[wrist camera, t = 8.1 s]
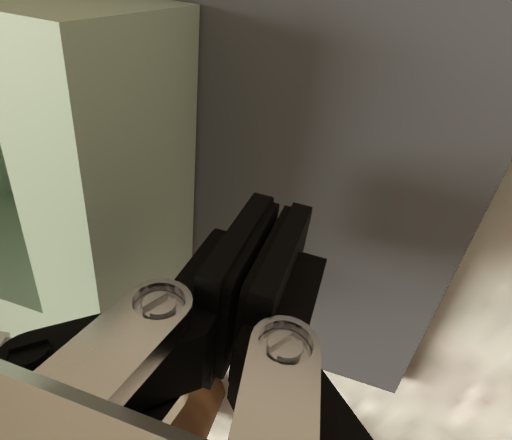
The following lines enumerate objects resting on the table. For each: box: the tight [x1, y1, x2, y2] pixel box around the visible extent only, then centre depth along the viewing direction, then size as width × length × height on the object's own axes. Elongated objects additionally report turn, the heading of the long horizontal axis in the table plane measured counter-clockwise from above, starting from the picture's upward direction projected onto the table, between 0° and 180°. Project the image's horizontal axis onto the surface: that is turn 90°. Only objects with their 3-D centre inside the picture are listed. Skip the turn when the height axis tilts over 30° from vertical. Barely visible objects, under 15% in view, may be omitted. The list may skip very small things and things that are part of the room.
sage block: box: [0, 0, 200, 338], centre depth 13 cm, size 10×10×6 cm
